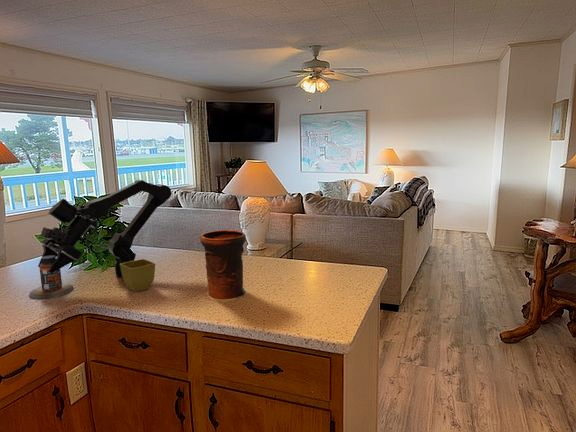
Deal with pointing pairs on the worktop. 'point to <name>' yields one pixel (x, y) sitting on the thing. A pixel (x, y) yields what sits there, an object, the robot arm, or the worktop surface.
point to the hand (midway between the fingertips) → (44, 269)
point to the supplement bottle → (49, 275)
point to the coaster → (51, 292)
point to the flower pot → (138, 274)
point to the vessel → (224, 264)
